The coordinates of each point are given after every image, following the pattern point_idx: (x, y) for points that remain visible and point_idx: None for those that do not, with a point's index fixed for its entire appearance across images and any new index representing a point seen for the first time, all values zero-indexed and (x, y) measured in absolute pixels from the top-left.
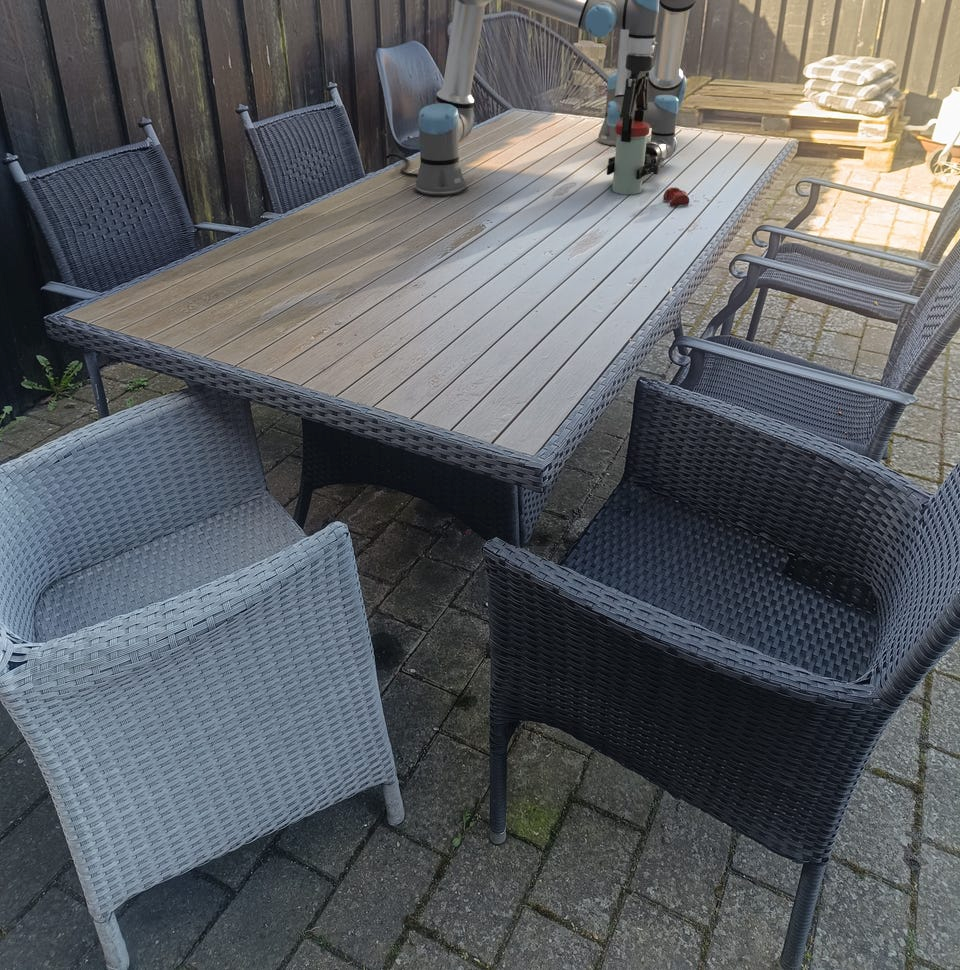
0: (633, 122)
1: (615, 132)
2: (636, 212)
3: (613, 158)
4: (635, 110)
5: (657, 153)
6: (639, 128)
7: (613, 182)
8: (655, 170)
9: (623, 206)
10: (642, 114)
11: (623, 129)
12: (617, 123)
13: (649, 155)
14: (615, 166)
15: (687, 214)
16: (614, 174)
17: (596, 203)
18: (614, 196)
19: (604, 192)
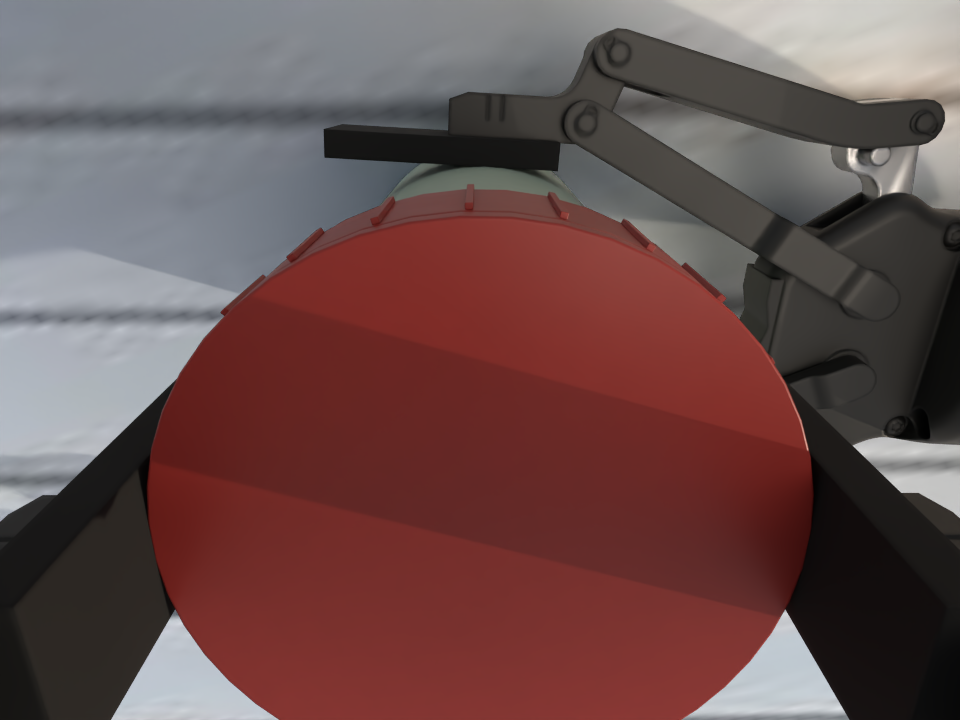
0: (628, 516)
1: (317, 231)
2: (69, 461)
3: (643, 81)
4: (957, 615)
5: (934, 442)
6: (265, 702)
7: (412, 172)
8: None
9: (124, 357)
10: (853, 710)
11: (34, 507)
12: (376, 262)
13: (821, 407)
14: (381, 204)
15: (218, 682)
16: (397, 187)
17: (60, 166)
18: (293, 227)
19: (345, 120)
